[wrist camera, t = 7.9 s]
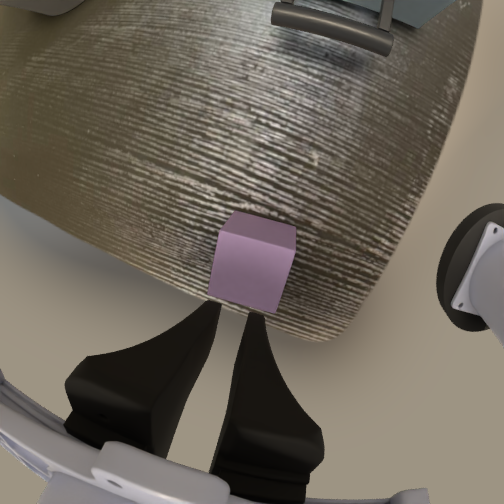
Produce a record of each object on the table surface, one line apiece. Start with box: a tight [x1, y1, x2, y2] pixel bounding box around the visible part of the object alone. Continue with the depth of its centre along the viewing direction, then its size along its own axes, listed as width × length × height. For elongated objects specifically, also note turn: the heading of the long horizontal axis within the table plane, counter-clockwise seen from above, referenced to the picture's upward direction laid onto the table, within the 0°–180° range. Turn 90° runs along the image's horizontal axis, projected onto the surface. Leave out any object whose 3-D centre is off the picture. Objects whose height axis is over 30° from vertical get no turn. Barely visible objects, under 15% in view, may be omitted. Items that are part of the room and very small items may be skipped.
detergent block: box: [207, 211, 296, 313], centre depth 19 cm, size 4×4×4 cm
